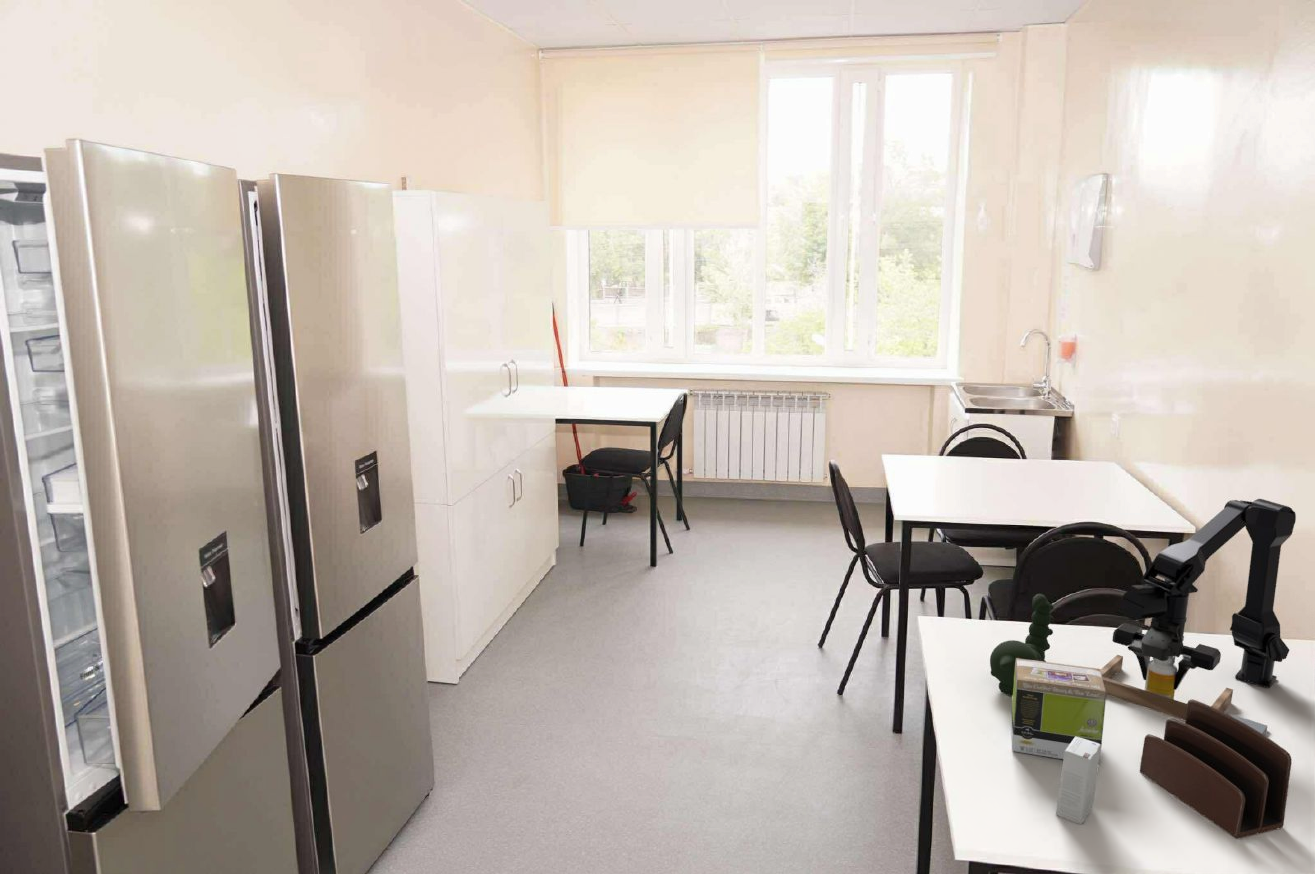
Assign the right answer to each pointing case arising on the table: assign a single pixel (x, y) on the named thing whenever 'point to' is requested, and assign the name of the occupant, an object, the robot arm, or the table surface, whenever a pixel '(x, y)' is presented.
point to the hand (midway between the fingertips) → (1160, 684)
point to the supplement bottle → (1161, 677)
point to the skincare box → (1078, 779)
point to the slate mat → (1251, 723)
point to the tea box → (1055, 707)
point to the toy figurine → (1023, 646)
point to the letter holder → (1221, 770)
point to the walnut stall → (1150, 698)
